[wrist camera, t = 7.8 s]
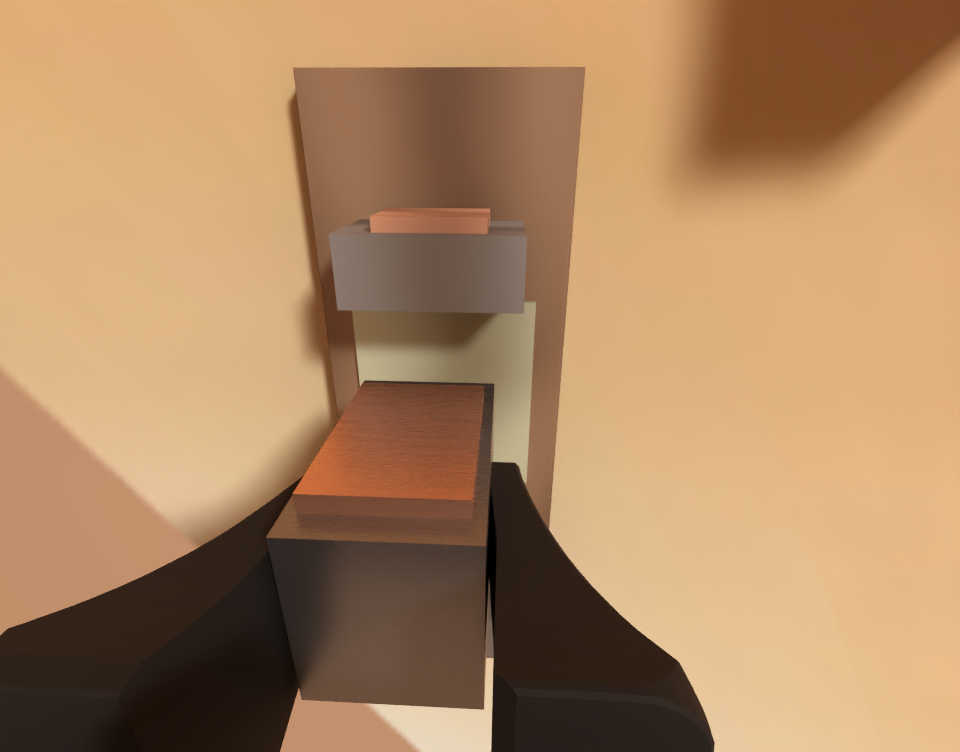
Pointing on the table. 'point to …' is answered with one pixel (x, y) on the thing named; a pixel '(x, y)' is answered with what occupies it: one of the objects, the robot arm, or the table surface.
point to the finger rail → (450, 171)
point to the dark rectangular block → (392, 549)
